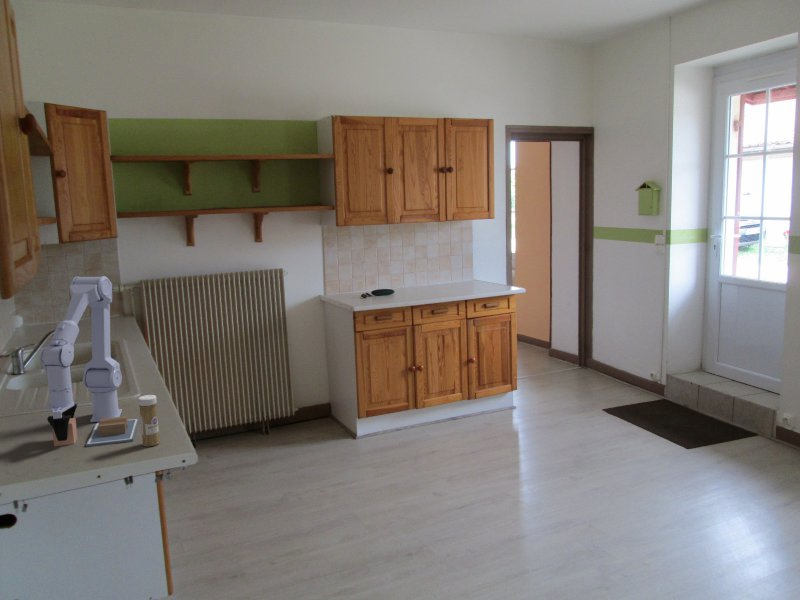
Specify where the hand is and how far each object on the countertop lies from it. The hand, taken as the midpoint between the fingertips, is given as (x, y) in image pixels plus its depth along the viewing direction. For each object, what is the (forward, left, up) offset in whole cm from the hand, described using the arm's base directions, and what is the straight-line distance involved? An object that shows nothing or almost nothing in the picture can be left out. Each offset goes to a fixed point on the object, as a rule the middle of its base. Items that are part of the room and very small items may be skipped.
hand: (65, 435), depth 183 cm
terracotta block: (0, 0, -2) cm, 2 cm away
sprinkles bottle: (+10, +23, -2) cm, 25 cm away
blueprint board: (-3, +12, -2) cm, 12 cm away
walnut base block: (-3, +12, -2) cm, 12 cm away
